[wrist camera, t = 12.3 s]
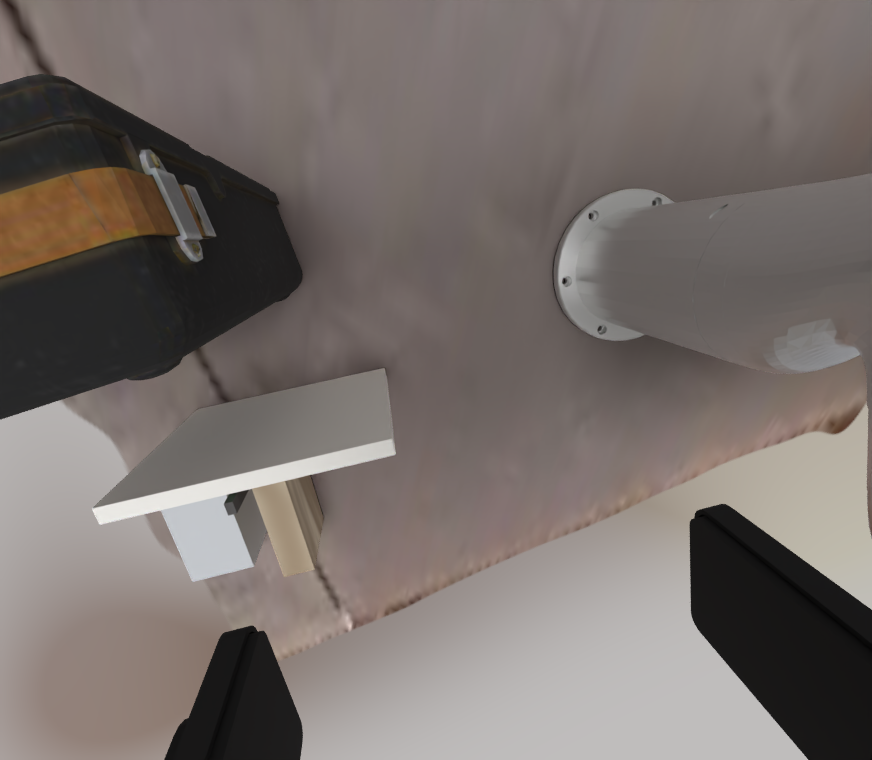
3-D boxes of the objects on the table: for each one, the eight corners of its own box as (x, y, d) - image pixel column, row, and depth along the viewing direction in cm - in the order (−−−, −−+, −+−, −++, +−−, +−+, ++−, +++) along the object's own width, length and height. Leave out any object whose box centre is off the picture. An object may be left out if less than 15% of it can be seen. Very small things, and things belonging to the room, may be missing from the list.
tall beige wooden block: (290, 412, 39) (249, 497, 26) (323, 518, 42) (302, 641, 29) (262, 418, 38) (206, 507, 25) (297, 524, 42) (264, 651, 29)
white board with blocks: (384, 367, 39) (392, 438, 25) (414, 494, 43) (435, 618, 29) (160, 417, 37) (31, 522, 23) (213, 543, 41) (129, 699, 27)
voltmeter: (274, 175, 34) (38, 6, 10) (317, 287, 36) (214, 367, 13) (68, 239, 33) (-714, 224, 9) (128, 348, 36) (-358, 555, 12)
